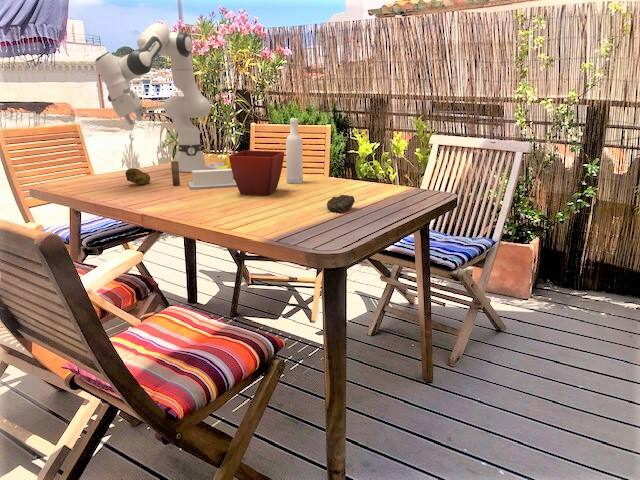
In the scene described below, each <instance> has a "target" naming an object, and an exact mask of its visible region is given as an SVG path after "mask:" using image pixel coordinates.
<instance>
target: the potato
mask: <svg viewBox="0 0 640 480" xmlns="http://www.w3.org/2000/svg"><path fill="white" fill-rule="evenodd" d="M125 178H126V181H127V182H130V183H132V184H137V185H141V186H143V185H146V184H148V183H150V182H151V176H150V174H149V173H146V172H143V171H142V170H140V169H139V168H136V167H135V168H132V167H131V168H128V169H127V170H126V171H125Z"/></svg>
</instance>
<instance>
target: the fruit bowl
mask: <svg viewBox="0 0 640 480" xmlns="http://www.w3.org/2000/svg"><path fill="white" fill-rule="evenodd" d="M232 154H233V153H230V154H229V155H228V156H226V158H225V159H224V161H222V162H213V163H210V164H207V165H206V167H208V168H209V169H208V170H216V169H231V164H230V160H229V156H230V155H232ZM233 179H234V176H233Z"/></svg>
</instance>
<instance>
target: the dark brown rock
mask: <svg viewBox="0 0 640 480" xmlns="http://www.w3.org/2000/svg"><path fill="white" fill-rule="evenodd" d="M355 202H356V201H355V197H354V196H353V195H348V194H347V195H346V194H340V195H339V196H332V197H331V198H330V199H329V200H328V201H327V202H326V208H327V210H328V211H329V212H332V213H337V214H338V213H339V214H340V213H343V212H346V211H349V210H351V209H352V208H353V205H354V203H355Z"/></svg>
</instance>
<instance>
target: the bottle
mask: <svg viewBox="0 0 640 480" xmlns="http://www.w3.org/2000/svg"><path fill="white" fill-rule="evenodd" d="M289 125H290V126H289V131H290V133H289V135H288V136H287V137H286V140H285V152H286V153H285V154H286V155H285V156H286V157H285V158H286V159H285V161H286V164H285V165H286V167H285V168H286V169H285V170H286V178H285V180H286V183H287V184H289V185H290V184H291V185H299V184H300V185H301V184H303V182H304V166H303V163H304V159H303V158H304V157H303V156H304V154H303V152H304V151H303V145H304V144H303V138H302V136H301V135H300V134H299V118H298V117H297V118H296V117H291V118H289Z"/></svg>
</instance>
